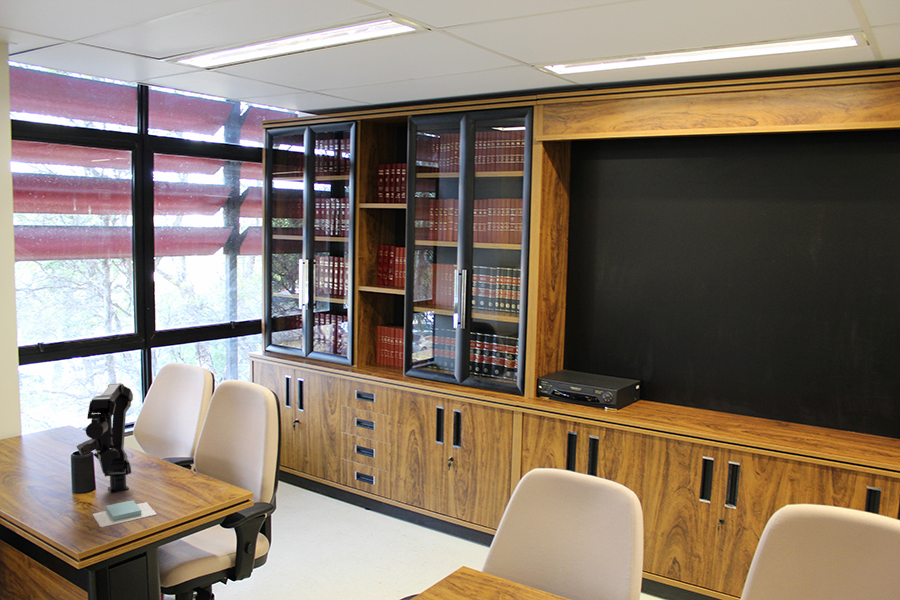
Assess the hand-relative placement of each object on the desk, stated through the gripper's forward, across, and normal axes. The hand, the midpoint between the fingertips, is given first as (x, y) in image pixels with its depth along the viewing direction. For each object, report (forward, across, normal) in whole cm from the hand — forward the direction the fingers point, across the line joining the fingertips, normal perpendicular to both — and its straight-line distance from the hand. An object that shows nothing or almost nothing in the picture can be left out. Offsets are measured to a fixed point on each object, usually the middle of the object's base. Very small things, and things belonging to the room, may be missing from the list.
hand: (104, 472), depth 243 cm
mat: (+12, +14, +3) cm, 19 cm away
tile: (+11, +6, +3) cm, 13 cm away
